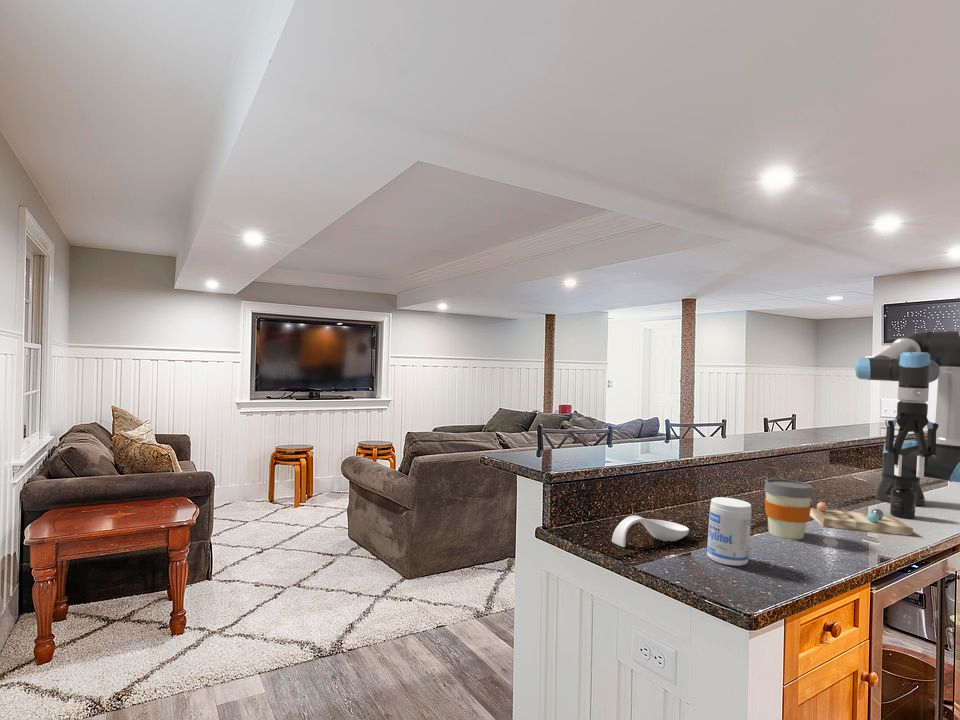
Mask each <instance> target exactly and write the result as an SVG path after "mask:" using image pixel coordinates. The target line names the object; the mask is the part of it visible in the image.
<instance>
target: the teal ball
mask: <svg viewBox="0 0 960 720" xmlns="http://www.w3.org/2000/svg"><path fill="white" fill-rule="evenodd" d="M867 514H868V515H867V519H868V520H869V521H870V522H873V523H875V522H877V521H878V520H879V516H878V515H877V514H876V513H873V512H869V513H867Z"/></svg>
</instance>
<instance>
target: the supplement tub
mask: <svg viewBox="0 0 960 720" xmlns="http://www.w3.org/2000/svg"><path fill="white" fill-rule="evenodd" d="M752 511H753V510H752V504H751V503H750V502H747V501H745V500H741V499H737V498H733V497H723V496H719V497H718V496H716V497H711V500H710V507H709V517H708V518H709V519H708V531H707V543H706V544H707V546H706V549H707V550H706V555H707V557H708V558H709V559H710V560H712V561H714V562H716V563H719V564H721V565H728V566H731V567H733V566H734V567H736V566H737V567H742V566H745V565H746V564H747V563H748V562H749V558H750V557H749V555H750V542H751V541H750V539H751V527H752V526H751V525H752Z"/></svg>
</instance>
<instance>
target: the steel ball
mask: <svg viewBox="0 0 960 720" xmlns="http://www.w3.org/2000/svg"><path fill="white" fill-rule="evenodd" d="M871 512H873V513H876V514H877V515H878V516H879V519H882V518H883V515H884V512H883V511H882V510H881V509H879V508H875V509H874V508H873V509H872V510H871ZM871 512H870V513H871Z"/></svg>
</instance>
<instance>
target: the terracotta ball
mask: <svg viewBox="0 0 960 720" xmlns="http://www.w3.org/2000/svg"><path fill="white" fill-rule="evenodd" d="M816 509H818V510H819V511H822V512H824V511H826V510H828V505H827V503H825V502H824V501H820V502H818V503H817V504H816Z"/></svg>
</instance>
